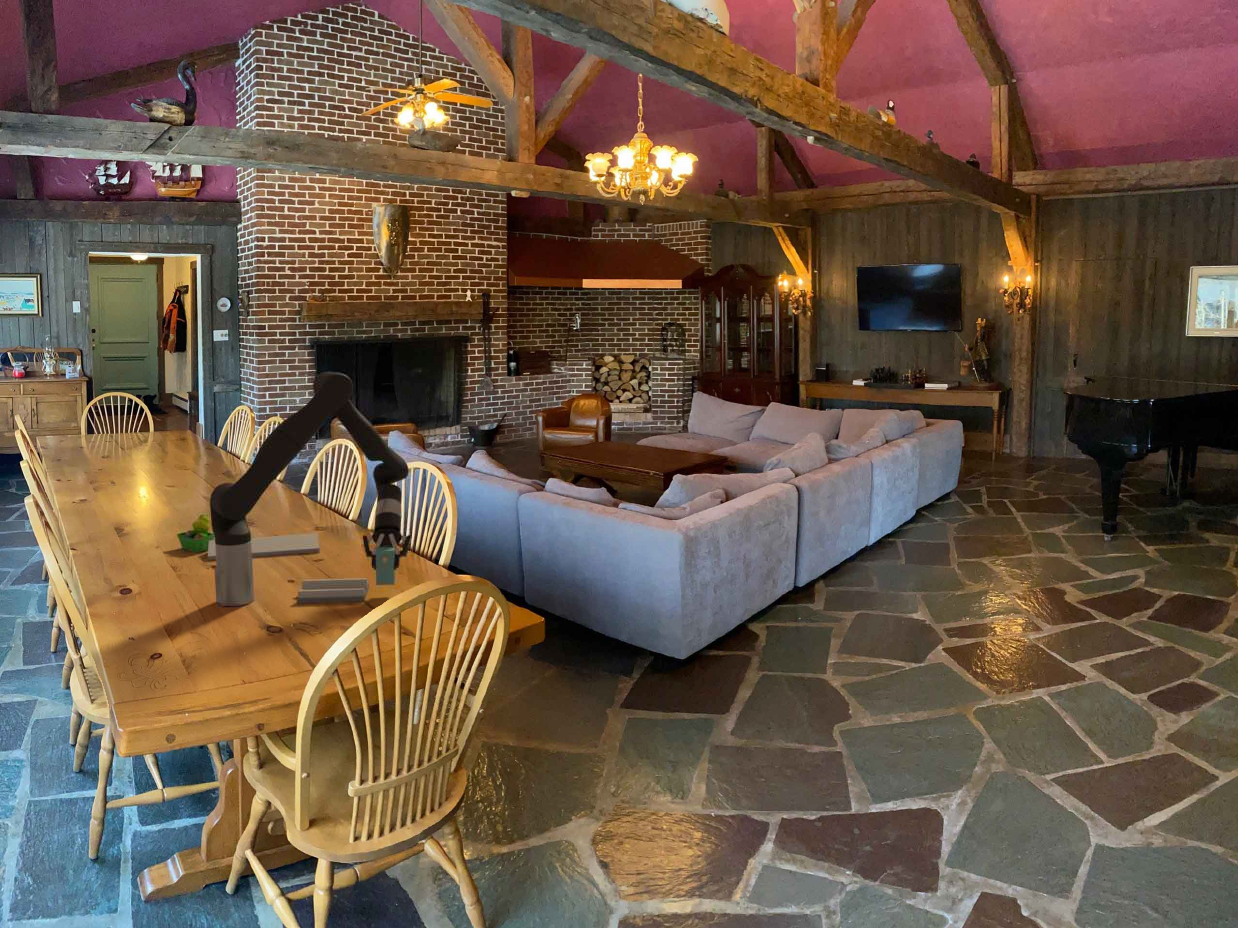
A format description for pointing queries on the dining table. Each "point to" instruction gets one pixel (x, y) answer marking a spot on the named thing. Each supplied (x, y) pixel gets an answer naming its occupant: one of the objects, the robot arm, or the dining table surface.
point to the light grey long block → (277, 545)
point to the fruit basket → (197, 535)
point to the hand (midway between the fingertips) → (385, 568)
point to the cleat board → (333, 590)
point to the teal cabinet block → (385, 566)
